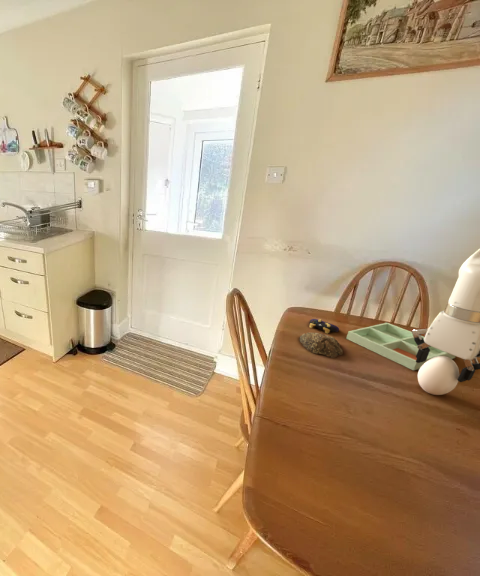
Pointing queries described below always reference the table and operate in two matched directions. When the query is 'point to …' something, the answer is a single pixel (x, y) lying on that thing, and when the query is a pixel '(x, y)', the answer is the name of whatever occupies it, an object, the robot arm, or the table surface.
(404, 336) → the divided tray
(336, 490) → the table surface
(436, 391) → the egg
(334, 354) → the brown rock
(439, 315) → the robot arm
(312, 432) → the table surface
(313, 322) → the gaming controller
